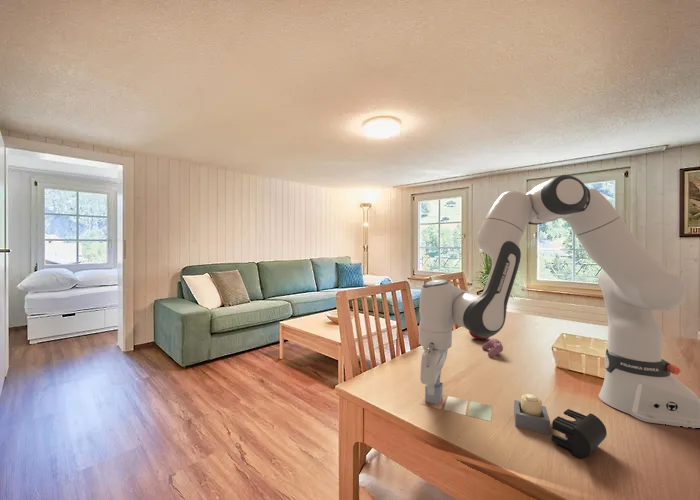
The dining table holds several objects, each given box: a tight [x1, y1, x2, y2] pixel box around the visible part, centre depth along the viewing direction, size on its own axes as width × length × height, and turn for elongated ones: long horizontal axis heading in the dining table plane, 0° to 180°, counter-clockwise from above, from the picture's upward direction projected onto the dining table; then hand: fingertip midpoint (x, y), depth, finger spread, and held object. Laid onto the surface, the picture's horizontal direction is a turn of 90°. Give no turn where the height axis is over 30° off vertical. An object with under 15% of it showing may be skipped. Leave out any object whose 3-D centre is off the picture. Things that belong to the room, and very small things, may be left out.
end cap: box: [551, 408, 608, 460], centre depth 67 cm, size 10×7×7 cm
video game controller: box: [481, 337, 504, 358], centre depth 124 cm, size 10×5×7 cm, turn 171°
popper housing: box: [513, 399, 551, 435], centre depth 75 cm, size 7×7×4 cm
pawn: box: [424, 377, 444, 405], centre depth 86 cm, size 4×4×7 cm
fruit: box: [468, 330, 490, 340], centre depth 142 cm, size 11×10×10 cm
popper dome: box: [520, 393, 543, 417], centre depth 75 cm, size 4×4×5 cm
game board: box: [420, 394, 493, 422], centre depth 83 cm, size 18×10×1 cm, turn 64°
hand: (434, 387), depth 86 cm, fingers open, 7 cm apart
